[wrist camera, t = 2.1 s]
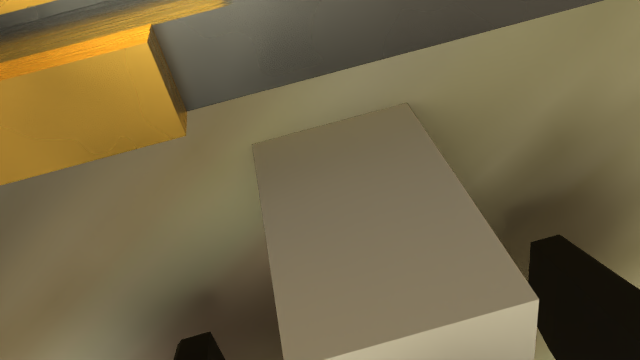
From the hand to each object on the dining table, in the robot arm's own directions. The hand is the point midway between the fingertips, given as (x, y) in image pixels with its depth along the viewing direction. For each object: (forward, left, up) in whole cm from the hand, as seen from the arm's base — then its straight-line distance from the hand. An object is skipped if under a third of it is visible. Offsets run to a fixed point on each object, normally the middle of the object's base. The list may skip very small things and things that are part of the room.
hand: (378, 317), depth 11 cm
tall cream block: (0, 0, -2) cm, 2 cm away
